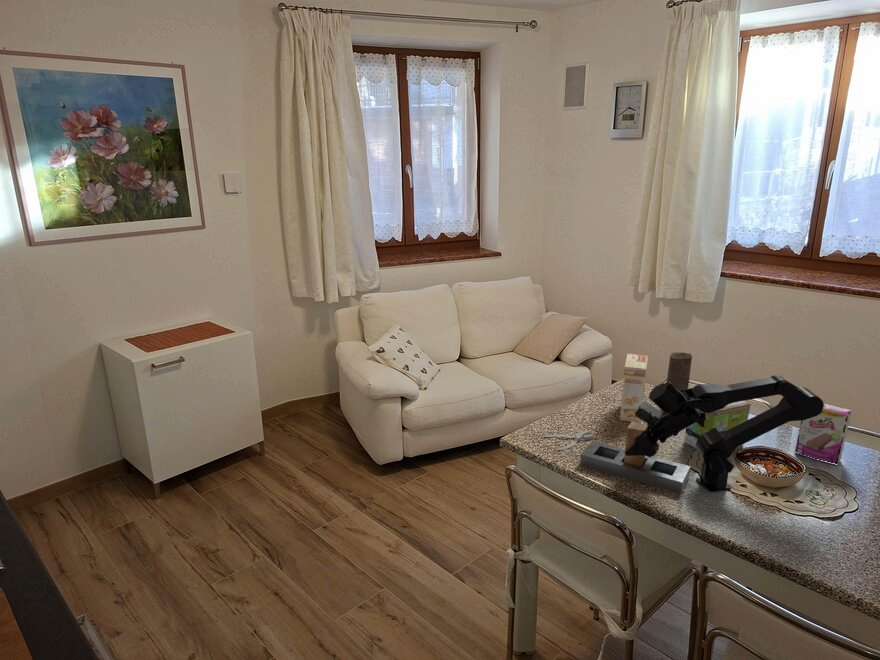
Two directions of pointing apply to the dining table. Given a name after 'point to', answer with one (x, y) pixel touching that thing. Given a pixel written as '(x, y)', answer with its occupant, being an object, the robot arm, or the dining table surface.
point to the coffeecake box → (633, 386)
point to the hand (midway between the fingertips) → (630, 447)
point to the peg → (631, 434)
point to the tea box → (718, 421)
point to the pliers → (577, 438)
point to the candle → (679, 370)
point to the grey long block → (636, 467)
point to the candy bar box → (824, 434)
